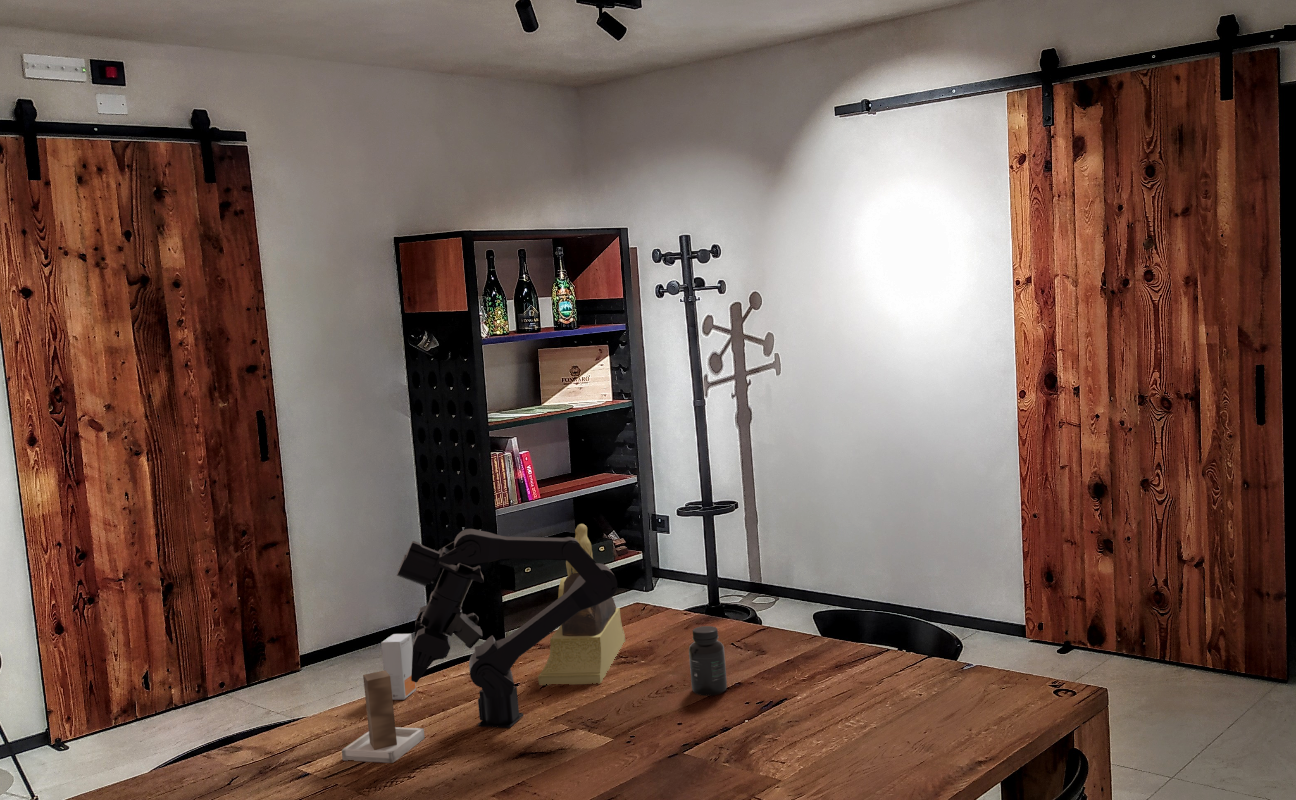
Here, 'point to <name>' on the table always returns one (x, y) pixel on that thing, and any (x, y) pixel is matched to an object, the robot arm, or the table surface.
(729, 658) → the table surface
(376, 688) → the wooden block
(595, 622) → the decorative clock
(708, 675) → the supplement bottle
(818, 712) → the table surface
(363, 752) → the tray
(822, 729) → the table surface
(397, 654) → the skincare box
